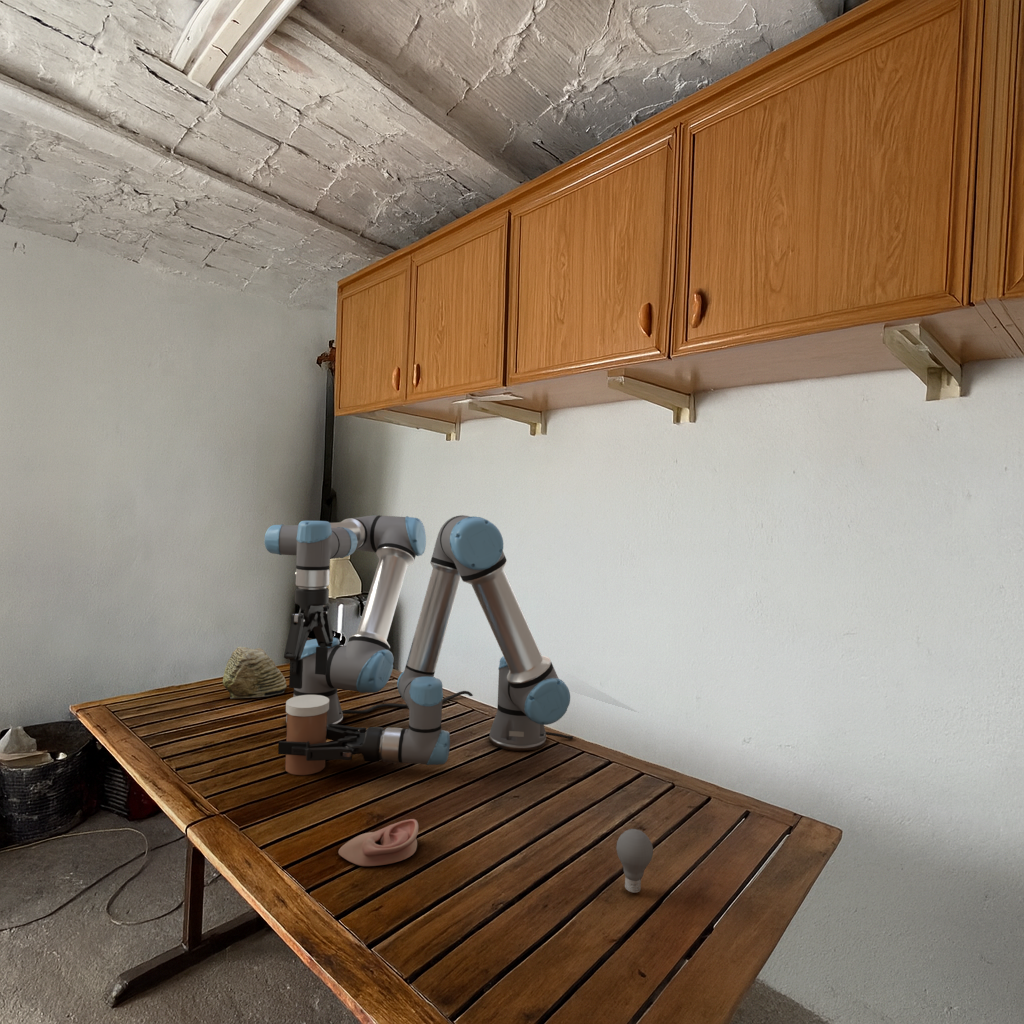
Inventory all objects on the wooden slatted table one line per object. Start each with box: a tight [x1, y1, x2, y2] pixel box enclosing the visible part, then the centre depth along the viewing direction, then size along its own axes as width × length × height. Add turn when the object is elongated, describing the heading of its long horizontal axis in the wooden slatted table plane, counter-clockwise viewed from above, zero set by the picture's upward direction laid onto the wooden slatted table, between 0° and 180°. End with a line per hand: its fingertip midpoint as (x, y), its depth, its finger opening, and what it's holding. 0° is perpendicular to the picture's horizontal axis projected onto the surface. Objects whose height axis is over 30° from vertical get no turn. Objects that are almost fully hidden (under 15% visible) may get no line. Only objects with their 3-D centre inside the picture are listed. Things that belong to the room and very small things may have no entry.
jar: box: [284, 712, 327, 776], centre depth 148 cm, size 9×9×15 cm
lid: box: [285, 695, 329, 717], centre depth 148 cm, size 10×10×2 cm
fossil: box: [222, 646, 288, 699], centre depth 198 cm, size 9×18×15 cm, turn 132°
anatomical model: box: [337, 818, 419, 867], centre depth 114 cm, size 13×4×12 cm
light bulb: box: [615, 828, 654, 894], centre depth 106 cm, size 6×6×10 cm
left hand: (308, 680), depth 148 cm, fingers open, 11 cm apart
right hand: (287, 739), depth 148 cm, fingers closed on jar, 9 cm apart
